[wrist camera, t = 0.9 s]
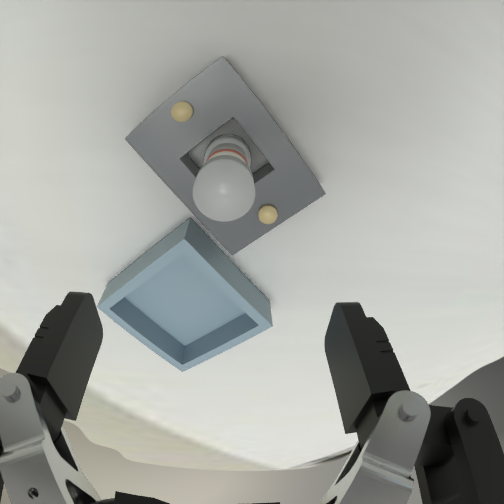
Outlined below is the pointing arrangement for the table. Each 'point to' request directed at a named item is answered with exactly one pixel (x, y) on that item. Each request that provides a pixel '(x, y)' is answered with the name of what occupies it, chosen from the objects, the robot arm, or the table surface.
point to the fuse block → (202, 125)
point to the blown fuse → (225, 180)
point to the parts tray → (186, 299)
